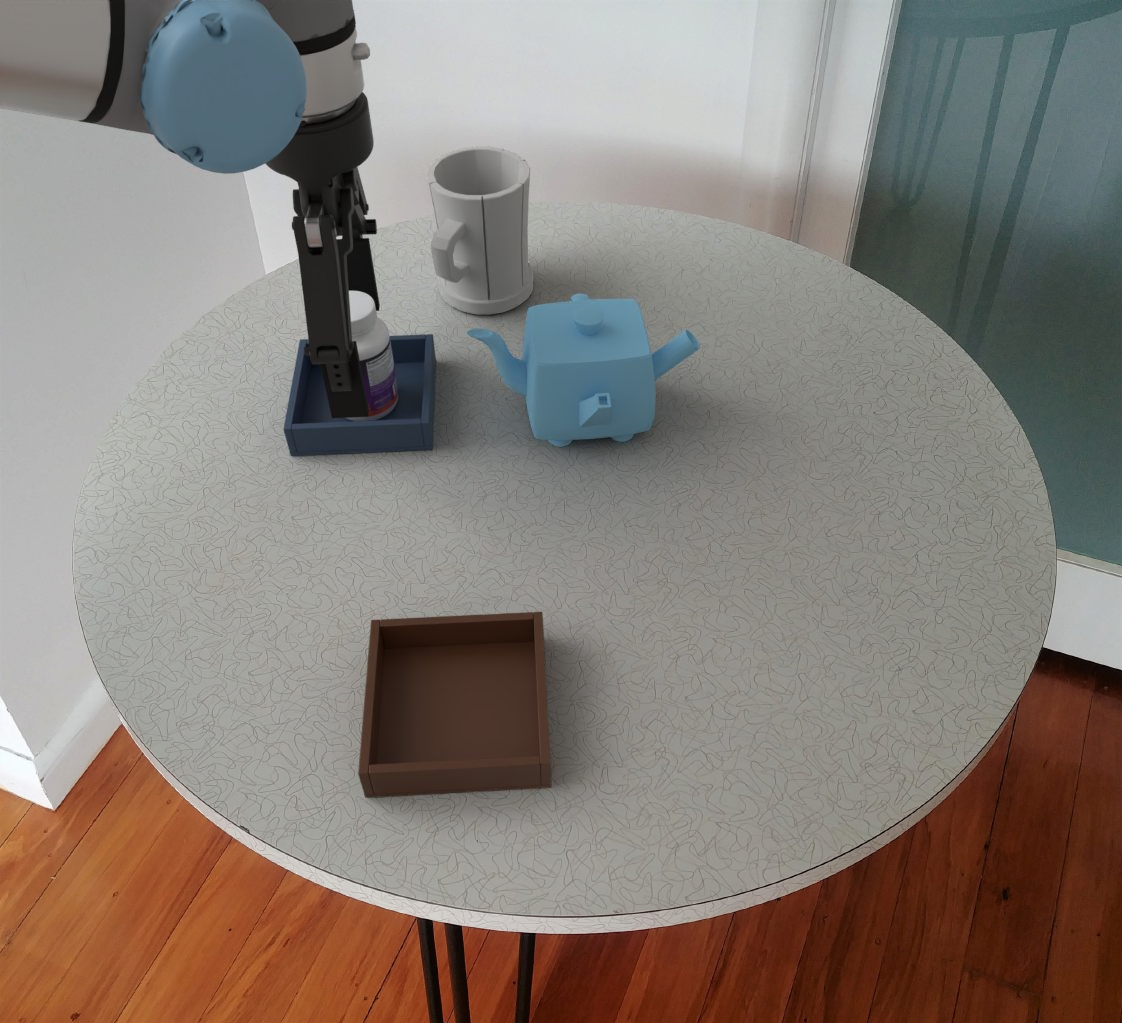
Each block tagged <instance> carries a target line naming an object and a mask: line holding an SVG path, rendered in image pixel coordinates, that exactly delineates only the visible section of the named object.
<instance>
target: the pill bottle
mask: <svg viewBox="0 0 1122 1023" xmlns="http://www.w3.org/2000/svg"><path fill="white" fill-rule="evenodd" d="M349 302H350V316H351V331H352V341H356V343H357V349H358V354H359V360H360V365H361V370H362V376H363V381H364V386H365V392H366V397H367V403H368V408H369V414H368V417H350V418H345V419H348V420H351V421H375V420H378V419H380V418H383V417H384V416H386V415H388V414H389V413H390V412H391V411H392V410H393V409H394V408H395V406H396V404H397V402H398V388H397V382H396V375H395V368H394V361H393V355H392V348H391V342H390V336H391V335H390V332H389V328H388V326H387V324H386V322H384V320H382V318H380V317H379V316H378V315H377V314H378V312H377V311H376V307H375V303H374V300H373V299H372V297H371V296H369V295H368V294H366V293H364V292H360V291H349Z"/></svg>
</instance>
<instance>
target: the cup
mask: <svg viewBox="0 0 1122 1023" xmlns="http://www.w3.org/2000/svg"><path fill="white" fill-rule="evenodd" d="M425 178H426V183H427V188H428V193H429V198H430V203H431V208H432V212H433V214H432V215H433V219H434V224H435V230H436V231H435V232H434V234H432V237H431V241H430V245H429V246H430V252H431V257H432V263H433V268H434V272H435V275H436V276H437V277H438V278H437V282H438V290H439V293H440V295H441V298H442V299H443V300H444V301H445V302H446V303H447V304H448V305H449V306H450V307H453V308H455V309H457V310H459V311H461V312H463V313H466V314H472V315H476V316H477V315H478V316H479V315H480V316H481V315H482V316H483V315H484V316H485V315H486V316H492V315H497V314H501V313H502V314H503V313H505V312H509V311H510V310H513V309H515V308H517V307H518V306H520V305H521V304H522V303H524V302H526V300H528V299H529V297H530V296H531V294H532V293H533V291H534V270H533V268H532V266H531V265H530V262H529V236H528V235H529V232H528V231H529V229H528V227H529V198H530V182H531V181H530V180H531V167H530V165H529V164H528V162H527V161H526V159H525V158H523V157H522V156H521V155H519V154H518V153H516V152H514V151H511V150H509V149H506V148H501V147H495V146H490V145H489V146H487V145H485V146H484V145H483V146H481V145H479V146H478V145H476V146H468V147H462V148H457V149H454V150H451V151H448V152H446V153H444V154H442V155H441V156H439V157H437V158H435V159H434V160H433V162H431V164H430V165H429V166H428V167H427V171H426V175H425Z"/></svg>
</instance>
